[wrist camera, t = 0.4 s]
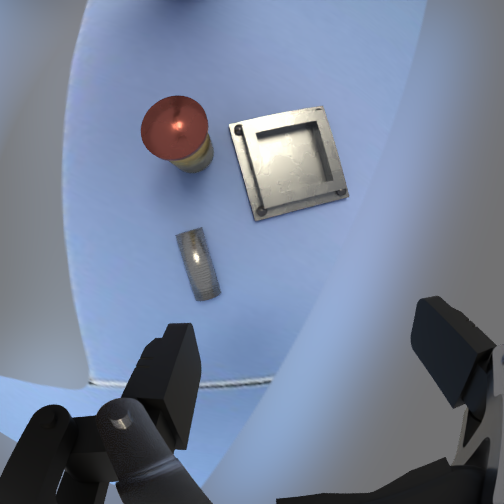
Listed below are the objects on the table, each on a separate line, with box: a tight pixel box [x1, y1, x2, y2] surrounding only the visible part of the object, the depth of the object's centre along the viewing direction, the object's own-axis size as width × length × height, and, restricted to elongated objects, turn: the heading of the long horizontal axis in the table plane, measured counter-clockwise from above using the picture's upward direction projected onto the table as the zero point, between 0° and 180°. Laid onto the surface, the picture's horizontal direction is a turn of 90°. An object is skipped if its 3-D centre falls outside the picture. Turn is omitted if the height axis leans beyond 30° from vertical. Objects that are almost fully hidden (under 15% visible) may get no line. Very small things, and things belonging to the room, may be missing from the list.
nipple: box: [176, 227, 221, 301], centre depth 34 cm, size 8×3×3 cm, turn 15°
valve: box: [141, 96, 214, 173], centre depth 27 cm, size 6×6×12 cm
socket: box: [229, 106, 349, 221], centre depth 32 cm, size 12×12×4 cm
